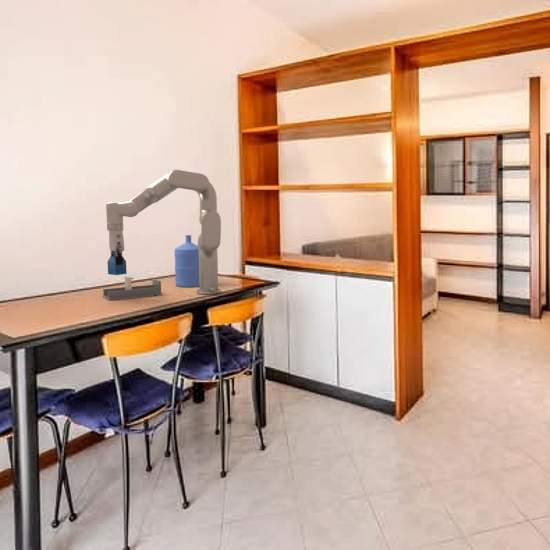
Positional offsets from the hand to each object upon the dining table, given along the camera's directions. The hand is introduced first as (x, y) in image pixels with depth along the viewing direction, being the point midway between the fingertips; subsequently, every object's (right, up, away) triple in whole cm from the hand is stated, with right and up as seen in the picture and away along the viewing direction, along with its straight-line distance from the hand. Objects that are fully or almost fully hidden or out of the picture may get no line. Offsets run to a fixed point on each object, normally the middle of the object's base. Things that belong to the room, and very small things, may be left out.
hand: (116, 263), depth 253 cm
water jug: (+29, -12, +39) cm, 50 cm away
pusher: (+5, -15, +5) cm, 16 cm away
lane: (+6, -16, +6) cm, 18 cm away
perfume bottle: (0, -5, +1) cm, 5 cm away
